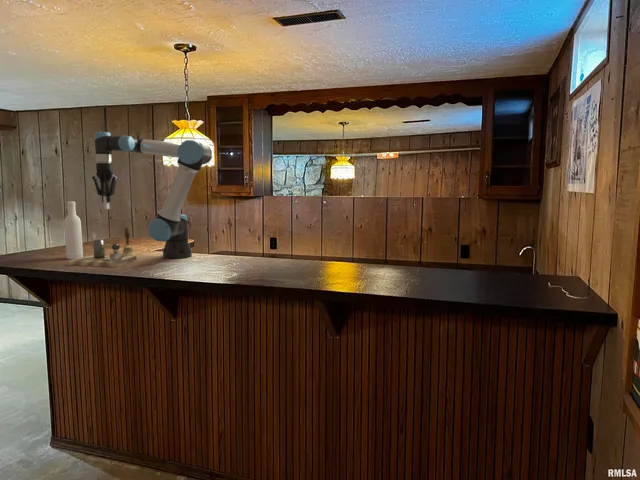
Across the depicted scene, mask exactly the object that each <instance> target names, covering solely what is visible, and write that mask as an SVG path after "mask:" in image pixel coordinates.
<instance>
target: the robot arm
mask: <svg viewBox="0 0 640 480" xmlns="http://www.w3.org/2000/svg"><path fill="white" fill-rule="evenodd" d="M93 141H94V148H95V149H94V150H95V151H94V152H95V162H96V164H95V168H96V173H95V175H93V176H92V177H91V178H92V181H93V182H94V186H95V188H96V192H97V195H99V196H101V202H102V203H103V210H110V203H111V201H112V200H111V196H113V195H115V190H116V184H117V182H118V181H117V180H118V179H119V177H118V176H115V174H114V173H113V164H112V162H113V155H112V154H113V153H112V152H127V153H136V154H144V155H145V154H147V155H154V156H162V157H169V158H176V159H177V158H178V159H177V161H176V163H177V165H178V168H177V170H176V172H175V175H174V178H173V180H172V183H171V185H170V188H169V190H168V193H167V195H166V199H165V201H164V204H163V207H162V209H161V210H158V211H157V213H156V216H155V218H153V219H152V220H151V221H150V222H149V225H148V228H147V229H148V233H149V236H150V237H151V238H152V239H153V240H154V241H157V242H165V243H164V244H165V245H164V247H163V251H162V257H163V258H164V259H185V258H190V257H191V256H193V252H192V249H191V246H190V243H189V233H188V232H189V231H188V229H189V228H188V223H189V221H188V216H187V215H186V214H182V213H181V211H182V208H183V206H184V203H185V201H186V199H187V196H188V193H189V191H190V188H191V185H192V183H193V181H194V178H195V176H196V174H197V173H198V172H200V171H201V169H202V166H203V165H205V164H208V163H209V162H210V161H211V160H212V159H213V156H214V155H213V154H214V153H213V149H212V147H211V146H210V144H209V143H207V142H205V141H200V140H196V139H187V140H184V141H182V142H181V143H179V142H172V141H171V142H170V141H162V140H156V139H155V140H154V139H145V138H136V137H132V136H130V135H112V134H111V133H110V132H108V131H96V132H94V140H93Z"/></svg>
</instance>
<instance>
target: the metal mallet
mask: <svg viewBox="0 0 640 480" xmlns="http://www.w3.org/2000/svg"><path fill="white" fill-rule="evenodd" d="M92 246H93V250H92V251H93V255H94V258H105V256H106V255H105V249H111V250H113V251H114V250H115V249H116V250H118V251H119V250H120V248H121V245H120V244H119V243H116V242H115V243H113V244H107V243H106V244H105V239H102V238H101V239H99V238H97V239H93V240H92Z"/></svg>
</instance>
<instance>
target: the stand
mask: <svg viewBox="0 0 640 480" xmlns="http://www.w3.org/2000/svg"><path fill="white" fill-rule="evenodd" d="M118 251H119V250H116V249H115V250H113V251H112V253H110V254H109V255H105V258H94V254H89V255H85V256H83V257H81V258H77V259H69V260H67V261H66V265H67V266H76V267H77V266H78V267H81V266H82V267H111V268H118V267H121V266H124V265H126V264H129V263H132V262H135V261H137V256H122V253H123V252H118Z"/></svg>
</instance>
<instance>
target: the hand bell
mask: <svg viewBox="0 0 640 480" xmlns="http://www.w3.org/2000/svg"><path fill="white" fill-rule="evenodd" d="M130 233H131V231H130V229H129V227H128V226H127V227H125V229H124V237H125V246H124V247H123V251H122V252H121V253H122V256H136V257H137V256H138V255H137V254H136V253H135V252H134V249H133V246H132V245H130V237H131V236H130V235H131V234H130Z"/></svg>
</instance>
